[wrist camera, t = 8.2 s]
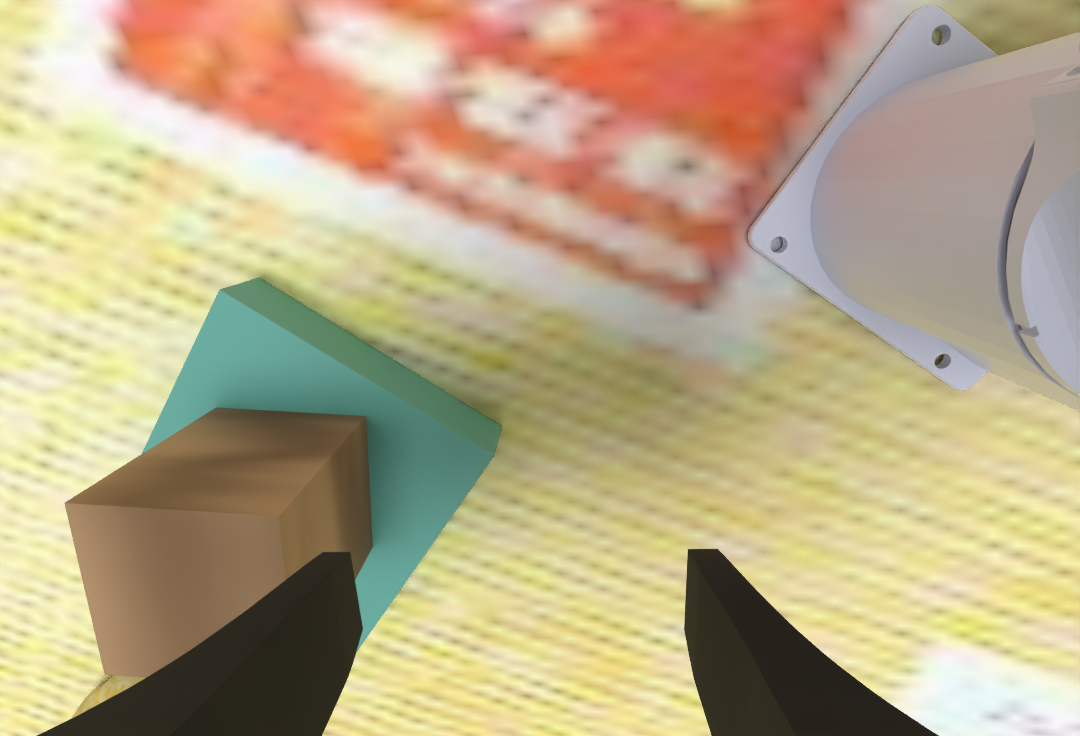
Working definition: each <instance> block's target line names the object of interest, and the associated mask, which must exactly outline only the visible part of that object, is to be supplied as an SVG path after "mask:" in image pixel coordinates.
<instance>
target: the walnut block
mask: <svg viewBox="0 0 1080 736" xmlns="http://www.w3.org/2000/svg"><path fill="white" fill-rule="evenodd" d="M65 507H66V511H67V515H68V520H69V524H70V528H71V533H72V537H73V541H74V545H75V550H76V554H77V558H78V562H79V567H80V571H81V575H82V580H83V584H84V588H85V592H86V597H87V601H88V605H89V609H90V614H91V618H92V622H93V626H94V631H95V635H96V639H97V644H98V648H99V652H100V656H101V661H102V665H103V669H104V673H105V675H112V676H127V677H141V678H146V677H148V676H150V675H151V674H153V673H155V672H156V671H158V670H160V669H161V668H163V667H164V666H166V665H168V664H169V663H171V662H173V661H174V660H176V659H177V658H179V657H180V656H182V655H183V654H185V653H186V652H188V651H189V650H191V649H192V648H194V647H195V646H197V645H198V644H200V643H201V642H203V641H204V640H205V639H207V638H208V637H210V636H211V635H212V634H214V633H215V632H217V631H218V630H219V629H221V628H222V627H224V626H225V625H227V624H228V623H229V622H231V621H232V620H234V619H235V618H236V617H238V616H239V615H241V614H242V613H243V612H245V611H246V610H247V609H249V608H250V607H251V606H252V605H254V604H255V603H256V602H258V601H259V600H260V599H262V598H263V597H264V596H266V595H267V594H268V593H269V592H271V591H272V590H273V589H275V588H276V587H277V586H279V585H280V584H281V583H282V582H284V581H285V580H286V579H287V578H289V577H290V576H291V575H293V574H294V573H295V572H296V571H298V570H299V569H300V568H302V567H303V566H304V565H306V564H307V563H308V562H310V561H311V560H312V559H314V558H315V557H316V556H318V555H319V554H321V553H322V552H350V553H351V559H352V565H353V571H354V577H355V580H356V578H357V576H358V574H359V572H360V570H361V568H362V567H363V565H364V563H365V561H366V559H367V557H368V555H369V553H370V552H371V550H372V548H373V541H372V521H371V502H370V482H369V463H368V443H367V424H366V416H356V415H338V414H321V413H303V412H286V411H268V410H251V409H233V408H214V409H213V410H211V411H210V412H208V413H206V414H205V415H203V416H202V417H200V418H198V419H197V420H195V421H194V422H192V423H191V424H189V425H187V426H186V427H184V428H183V429H181V430H179V431H178V432H176V433H175V434H173V435H172V436H170V437H168V438H167V439H165V440H164V441H162V442H160V443H159V444H157V445H156V446H154V447H153V448H151V449H149V450H148V451H146V452H145V453H143V454H141V455H140V456H138V457H137V458H135V459H134V460H132V461H130V462H129V463H127V464H126V465H124V466H122V467H121V468H119V469H118V470H116V471H115V472H113V473H111V474H110V475H108V476H107V477H105V478H103V479H102V480H100V481H99V482H97V483H96V484H94V485H92V486H91V487H89V488H88V489H86V490H84V491H83V492H81V493H80V494H78V495H76V496H75V497H73V498H72V499H70V500H69V501H67V502H65Z"/></svg>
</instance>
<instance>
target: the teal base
mask: <svg viewBox="0 0 1080 736" xmlns="http://www.w3.org/2000/svg"><path fill="white" fill-rule="evenodd" d="M214 408H233V409H251V410H268V411H286V412H303V413H321V414H338V415H356V416H366V424H367V443H368V463H369V482H370V502H371V521H372V541H373V548H372V550H371V552H370V553H369V555H368V557H367V559H366V561H365V563H364V565H363V567H362V568H361V570H360V572H359V574H358V576H357V578H356V580H355V583H356V589H357V595H358V601H359V607H360V613H361V620H362V626H363V631H362V635H361V638H360V641H359V645H358V648H357V651H358V649H359V648H360V646H361V645H362V644H363V642H364V641H365V639H366V638H367V636H368V635H369V634H370V632H371V631H372V629H373V628H374V626H375V625H376V624H377V622H378V621H379V619H380V618H381V616H382V615H383V614H384V612H385V611H386V609H387V608H388V606H389V605H390V604H391V602H392V601H393V599H394V598H395V596H396V595H397V594H398V592H399V591H400V589H401V588H402V586H403V585H404V584H405V582H406V581H407V579H408V578H409V576H410V575H411V574H412V572H413V571H414V569H415V568H416V566H417V565H418V564H419V562H420V561H421V559H422V558H423V556H424V555H425V554H426V552H427V551H428V549H429V548H430V546H431V545H432V544H433V542H434V541H435V539H436V538H437V537H438V535H439V534H440V532H441V531H442V529H443V528H444V527H445V525H446V524H447V522H448V521H449V519H450V518H451V517H452V515H453V514H454V512H455V511H456V509H457V508H458V507H459V505H460V504H461V502H462V501H463V499H464V498H465V497H466V495H467V494H468V492H469V491H470V489H471V488H472V487H473V485H474V484H475V482H476V481H477V479H478V478H479V477H480V475H481V474H482V472H483V471H484V469H485V468H486V467H487V465H488V464H489V462H490V461H491V459H492V458H493V457H494V454H495V451H496V447H497V443H498V439H499V435H500V432H501V428H502V426H501V425H499V424H497V423H496V422H494V421H493V420H491V419H489V418H488V417H486V416H484V415H483V414H481V413H479V412H478V411H476V410H475V409H473V408H471V407H470V406H468V405H466V404H465V403H463V402H461V401H460V400H458V399H457V398H455V397H453V396H452V395H450V394H448V393H447V392H445V391H444V390H442V389H440V388H439V387H437V386H435V385H434V384H432V383H430V382H429V381H427V380H426V379H424V378H422V377H421V376H419V375H417V374H416V373H414V372H413V371H411V370H409V369H408V368H406V367H404V366H403V365H401V364H399V363H398V362H396V361H395V360H393V359H391V358H390V357H388V356H386V355H385V354H383V353H382V352H380V351H378V350H377V349H375V348H373V347H372V346H370V345H368V344H367V343H365V342H364V341H362V340H360V339H359V338H357V337H355V336H354V335H352V334H350V333H349V332H347V331H346V330H344V329H342V328H341V327H339V326H337V325H336V324H334V323H333V322H331V321H329V320H328V319H326V318H324V317H323V316H321V315H319V314H318V313H316V312H315V311H313V310H311V309H310V308H308V307H306V306H305V305H303V304H302V303H300V302H298V301H297V300H295V299H293V298H292V297H290V296H288V295H287V294H285V293H284V292H282V291H280V290H279V289H277V288H275V287H274V286H272V285H271V284H269V283H267V282H266V281H264V280H262V279H261V278H257V279H253V280H250V281H247V282H243V283H240V284H237V285H234V286H230V287H227V288H224V289H220V290H219V292H218V294H217V296H216V298H215V300H214V303H213V305H212V307H211V309H210V311H209V313H208V315H207V317H206V319H205V322H204V324H203V326H202V328H201V330H200V332H199V334H198V336H197V338H196V341H195V343H194V345H193V347H192V349H191V351H190V353H189V355H188V357H187V360H186V362H185V364H184V366H183V368H182V370H181V372H180V374H179V376H178V379H177V381H176V383H175V385H174V387H173V389H172V391H171V393H170V395H169V398H168V400H167V402H166V404H165V406H164V408H163V410H162V412H161V414H160V417H159V419H158V421H157V423H156V425H155V427H154V429H153V431H152V433H151V436H150V438H149V440H148V442H147V444H146V446H145V448H144V450H143V452H142V454H143V453H145V452H146V451H148V450H149V449H151V448H153V447H154V446H156V445H157V444H159V443H160V442H162V441H164V440H165V439H167V438H168V437H170V436H172V435H173V434H175V433H176V432H178V431H179V430H181V429H183V428H184V427H186V426H187V425H189V424H191V423H192V422H194V421H195V420H197V419H198V418H200V417H202V416H203V415H205V414H206V413H208V412H210V411H211V410H213V409H214ZM357 651H356V652H357Z"/></svg>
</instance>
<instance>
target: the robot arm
mask: <svg viewBox="0 0 1080 736" xmlns="http://www.w3.org/2000/svg"><path fill="white" fill-rule="evenodd" d="M935 28H937V29H940V31H941V32H942V41H941V43H940V44H939V45H936V44H934V43H933V41H932V33H933V31H934V29H935ZM779 236H780V237H781V238H782V240H783V245H782V248H781V249H780V250H778V251H776V252H773V251H772V250H771V245H770V244H771V242H772V240H773V239H774V238H776V237H779ZM747 239H748V242H749V244H750V245H751V247H752V248H753V249H755V250H756V251H758V252H759V253H760V254H762V255H763V256H765V257H766V258H768V259H769V260H770V261H772V262H773V263H775V264H776V265H778V266H779V267H780V268H782V269H783V270H785V271H786V272H787V273H789V274H790V275H792V276H793V277H795V278H796V279H797V280H799V281H800V282H802V283H803V284H804V285H806V286H807V287H809V288H810V289H812V290H813V291H814V292H816V293H817V294H819V295H820V296H822V297H823V298H824V299H826V300H827V301H829V302H830V303H831V304H833V305H834V306H836V307H837V308H839V309H840V310H841V311H843V312H844V313H846V314H847V315H848V316H850V317H851V318H853V319H854V320H856V321H857V322H858V323H860V324H861V325H863V326H864V327H866V328H867V329H868V330H870V331H871V332H873V333H874V334H875V335H877V336H878V337H880V338H881V339H883V340H884V341H885V342H887V343H888V344H890V345H891V346H893V347H894V348H895V349H897V350H898V351H900V352H901V353H902V354H904V355H905V356H907V357H908V358H910V359H911V360H912V361H914V362H915V363H917V364H918V365H919V366H921V367H922V368H924V369H925V370H927V371H928V372H929V373H931V374H932V375H934V376H935V377H937V378H938V379H939V380H941V381H942V382H944V383H945V384H946V385H948V386H950V387H952V388H954V389H956V390H966V389H969V388H971V387H972V386H973V385H975V384H976V383H977V382H978V381H979V380H980V379H981V378H982V376H983V375H984V374H985V373H986V372H987V371H989V372H992V373H994V374H996V375H998V376H1000V377H1003V378H1005V379H1007V380H1009V381H1012V382H1014V383H1016V384H1018V385H1021V386H1023V387H1025V388H1027V389H1030V390H1032V391H1034V392H1036V393H1038V394H1041V395H1043V396H1045V397H1047V398H1050V399H1052V400H1054V401H1056V402H1059V403H1061V404H1063V405H1065V406H1068V407H1070V408H1072V409H1074V410H1076V411H1079V412H1080V32H1077V33H1073V34H1070V35H1067V36H1063V37H1060V38H1056V39H1053V40H1049V41H1046V42H1043V43H1039V44H1036V45H1032V46H1029V47H1026V48H1022V49H1019V50H1015V51H1012V52H1009V53H1005V54H1002V55H997V54H996V53H995V52H994V51H992V50H991V49H990V48H989V47H987V46H986V45H985V44H984V43H983V42H981V41H980V40H979V39H978V38H976V37H975V36H974V35H973V34H972V33H970V32H969V31H968V30H967V29H966V28H964V27H963V26H962V25H961V24H959V23H958V22H957V21H956V20H955V19H953V18H952V17H951V16H950V15H948V14H947V13H946V12H945V11H944V10H942V9H941V8H940V7H937V6H935V5H926V6H924V7H922V8H920V9H918V10H916V11H914V12H913V13H912V14H911V15H910V16H909V17H908V18H907V19H906V20H905V22H904V23H903V24H902V26H901V27H900V28H899V30H898V31H897V32H896V34H895V35H894V36H893V38H892V39H891V40H890V42H889V43H888V44H887V46H886V47H885V48H884V50H883V51H882V52H881V54H880V55H879V56H878V58H877V59H876V60H875V62H874V63H873V64H872V66H871V67H870V68H869V70H868V71H867V72H866V74H865V75H864V76H863V78H862V79H861V80H860V82H859V83H858V84H857V86H856V87H855V88H854V90H853V91H852V92H851V94H850V95H849V96H848V98H847V99H846V100H845V102H844V103H843V104H842V106H841V107H840V108H839V110H838V111H837V112H836V114H835V115H834V116H833V118H832V119H831V120H830V122H829V123H828V124H827V126H826V127H825V128H824V130H823V131H822V132H821V134H820V135H819V136H818V138H817V139H816V140H815V142H814V143H813V144H812V146H811V147H810V148H809V150H808V151H807V152H806V154H805V155H804V156H803V158H802V159H801V160H800V162H799V163H798V164H797V166H796V167H795V168H794V170H793V171H792V172H791V174H790V175H789V176H788V178H787V179H786V180H785V182H784V183H783V184H782V186H781V187H780V188H779V190H778V191H777V192H776V194H775V195H774V196H773V198H772V199H771V200H770V202H769V203H768V204H767V206H766V207H765V208H764V210H763V211H762V212H761V214H760V215H759V216H758V218H757V219H756V220H755V222H754V223H753V224H752V226H751V227H750V229H749V231H748V237H747ZM940 354H944V358H943V360H942V362H941V363H939V364H938V365H935V359H936V358H937V357H938V356H939V355H940ZM684 630H685V635H686V641H687V646H688V651H689V657H690V662H691V667H692V671H693V676H694V680H695V683H696V687H697V690H698V693H699V696H700V700H701V703H702V706H703V709H704V713H705V716H706V719H707V722H708V725H709V728H710V732H711V735H712V736H938V735H937V734H935V733H933V732H932V731H930V730H929V729H927V728H926V727H924V726H923V725H921V724H920V723H918V722H917V721H915V720H914V719H912V718H910V717H909V716H907V715H906V714H904V713H903V712H901V711H900V710H898V709H897V708H895V707H894V706H892V705H891V704H889V703H888V702H887V701H885V700H884V699H882V698H881V697H880V696H878V695H877V694H875V693H874V692H872V691H871V690H870V689H868V688H867V687H866V686H864V685H863V684H862V683H861V682H859V681H858V680H857V679H855V678H854V677H853V676H851V675H850V674H849V673H847V672H846V671H845V670H844V669H842V668H841V667H840V666H838V665H837V664H836V663H835V662H833V661H832V660H831V659H830V658H828V657H827V656H826V655H825V654H824V653H822V652H821V651H820V650H819V649H818V648H817V647H816V646H814V645H813V644H812V643H811V642H810V641H809V640H808V639H806V638H805V637H804V636H803V635H802V634H801V633H800V632H799V631H797V630H796V629H795V628H794V627H793V626H792V625H791V624H790V623H789V622H788V621H787V620H786V619H785V618H784V617H783V616H782V615H781V614H780V613H779V612H778V611H777V610H776V609H775V608H774V607H773V606H772V605H771V604H770V603H768V602H767V601H766V599H765V598H764V597H763V596H762V595H761V594H760V593H759V592H758V591H757V590H756V589H755V588H754V587H753V586H752V585H751V584H750V583H749V582H748V581H747V580H746V579H745V578H744V576H743V575H742V574H741V573H740V572H739V571H738V570H737V569H736V568H735V567H734V566H733V565H732V563H731V562H730V561H729V560H728V559H727V558H726V557H725V556H724V555H723V554H722V553H721V552H720V551H719V550H718V549H688V560H687V582H686V604H685V626H684ZM362 631H363V626H362V620H361V613H360V607H359V601H358V595H357V589H356V583H355V577H354V571H353V565H352V559H351V553H350V552H322V553H321V554H319V555H318V556H316V557H315V558H314V559H312V560H311V561H310V562H308V563H307V564H306V565H304V566H303V567H302V568H300V569H299V570H298V571H296V572H295V573H294V574H293V575H291V576H290V577H289V578H287V579H286V580H285V581H284V582H282V583H281V584H280V585H279V586H277V587H276V588H275V589H273V590H272V591H271V592H269V593H268V594H267V595H266V596H264V597H263V598H262V599H260V600H259V601H258V602H256V603H255V604H254V605H252V606H251V607H250V608H249V609H247V610H246V611H245V612H243V613H242V614H241V615H239V616H238V617H236V618H235V619H234V620H232V621H231V622H229V623H228V624H227V625H225V626H224V627H222V628H221V629H219V630H218V631H217V632H215V633H214V634H212V635H211V636H210V637H208V638H207V639H205V640H204V641H203V642H201V643H200V644H198V645H197V646H195V647H194V648H192V649H191V650H189V651H188V652H186V653H185V654H183V655H182V656H180V657H179V658H177V659H176V660H174V661H173V662H171V663H169V664H168V665H166V666H164V667H163V668H161V669H160V670H158V671H156V672H155V673H153V674H151V675H150V676H148V677H146V678H145V679H143V680H141V681H140V682H138V683H136V684H135V685H133V686H131V687H129V688H128V689H126V690H124V691H122V692H120V693H118V694H117V695H115V696H113V697H111V698H109V699H107V700H105V701H104V702H102V703H100V704H98V705H96V706H94V707H92V708H91V709H89V710H87V711H85V712H83V713H81V714H79V715H78V716H76V717H74V718H72V719H70V720H68V721H66V722H64V723H62V724H60V725H58V726H56V727H54V728H52V729H50V730H48V731H46V732H44V733H42V734H39V735H37V736H322V734H323V732H324V730H325V727H326V725H327V723H328V721H329V719H330V716H331V714H332V712H333V710H334V708H335V705H336V703H337V701H338V699H339V696H340V694H341V692H342V690H343V688H344V685H345V683H346V681H347V678H348V676H349V673H350V670H351V667H352V664H353V661H354V658H355V655H356V651H357V648H358V645H359V641H360V638H361V635H362Z"/></svg>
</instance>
